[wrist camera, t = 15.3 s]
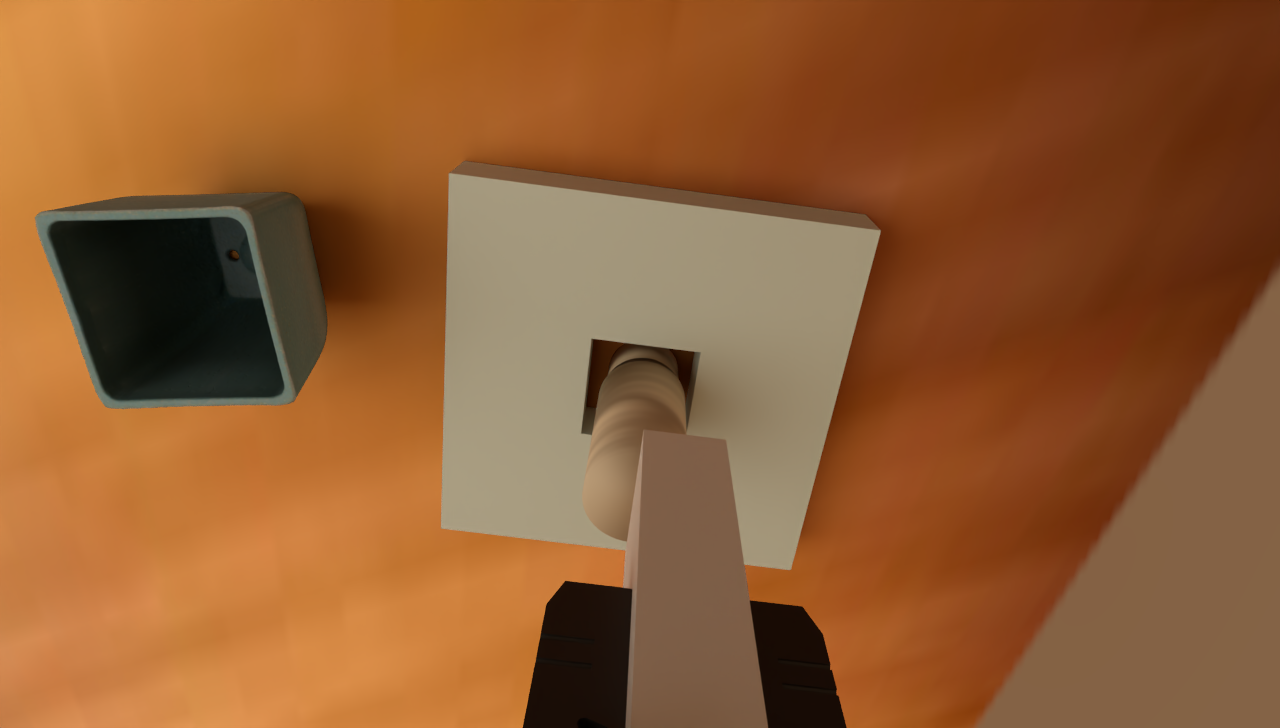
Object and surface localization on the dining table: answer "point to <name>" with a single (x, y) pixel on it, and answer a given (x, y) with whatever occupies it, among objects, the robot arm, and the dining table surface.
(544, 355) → the board
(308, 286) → the flower pot
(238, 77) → the dining table surface
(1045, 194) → the dining table surface
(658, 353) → the peg
